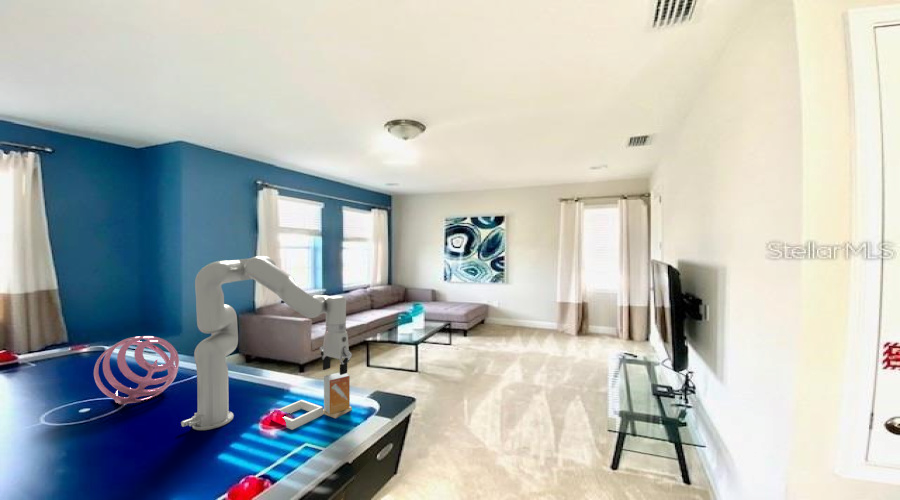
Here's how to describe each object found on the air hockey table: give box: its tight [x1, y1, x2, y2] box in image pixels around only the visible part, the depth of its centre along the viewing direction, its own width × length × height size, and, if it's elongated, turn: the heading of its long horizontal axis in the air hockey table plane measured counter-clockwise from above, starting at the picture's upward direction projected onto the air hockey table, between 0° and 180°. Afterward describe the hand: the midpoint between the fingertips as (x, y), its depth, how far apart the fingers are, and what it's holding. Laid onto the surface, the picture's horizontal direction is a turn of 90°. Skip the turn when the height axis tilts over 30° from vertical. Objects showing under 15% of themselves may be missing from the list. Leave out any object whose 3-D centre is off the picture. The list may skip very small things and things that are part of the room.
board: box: [323, 406, 353, 419], centre depth 136 cm, size 8×8×1 cm
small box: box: [323, 372, 351, 414], centre depth 135 cm, size 8×6×13 cm
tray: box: [270, 399, 324, 430], centre depth 131 cm, size 13×13×3 cm
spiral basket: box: [93, 335, 180, 405], centre depth 150 cm, size 28×28×27 cm
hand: (334, 371), depth 136 cm, fingers open, 9 cm apart
